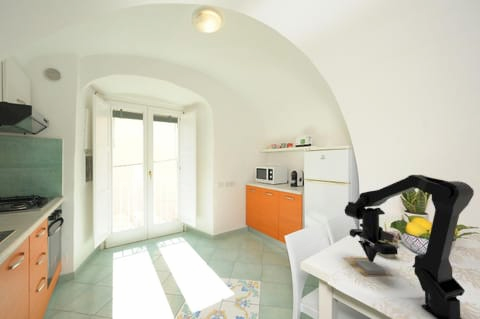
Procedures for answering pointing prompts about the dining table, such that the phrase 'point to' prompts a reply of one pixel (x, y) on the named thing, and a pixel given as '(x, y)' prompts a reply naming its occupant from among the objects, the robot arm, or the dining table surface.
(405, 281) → the dining table surface
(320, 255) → the dining table surface
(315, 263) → the dining table surface
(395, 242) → the flower pot
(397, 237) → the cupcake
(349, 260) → the board
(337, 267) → the dining table surface
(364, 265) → the tile
